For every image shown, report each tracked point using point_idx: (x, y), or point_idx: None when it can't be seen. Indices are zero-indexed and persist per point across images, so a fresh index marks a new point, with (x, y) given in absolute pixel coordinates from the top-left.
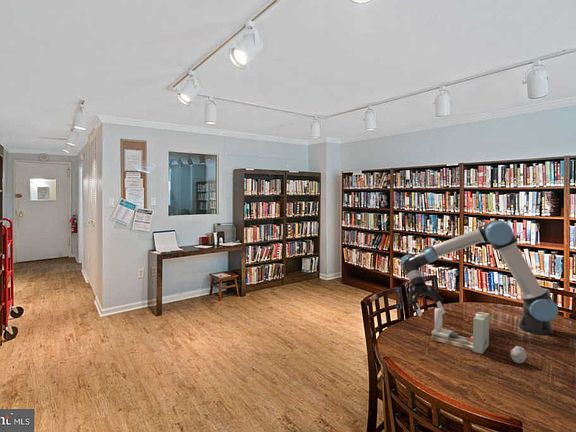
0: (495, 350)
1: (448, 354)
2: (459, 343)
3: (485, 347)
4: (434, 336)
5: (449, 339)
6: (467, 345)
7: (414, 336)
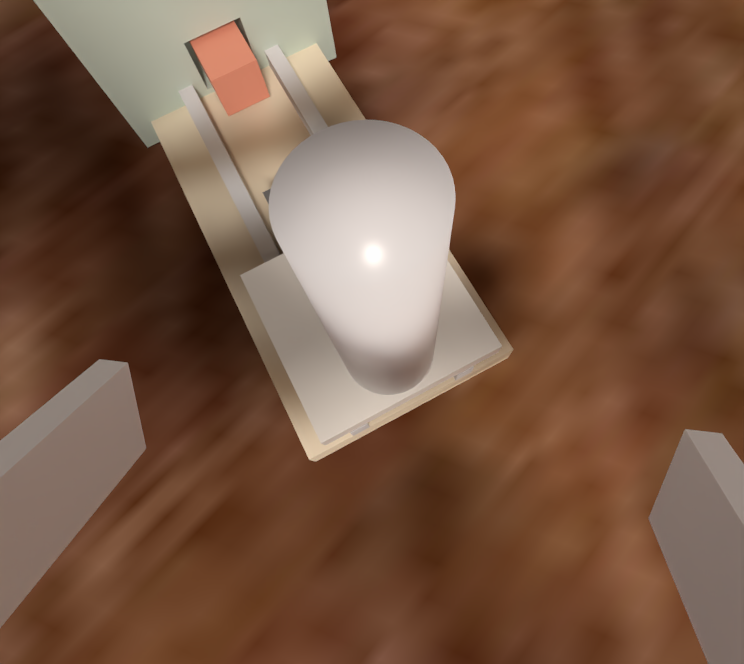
0: None
1: (567, 68)
2: None
3: None
4: None
5: None
6: (326, 84)
7: (642, 496)
